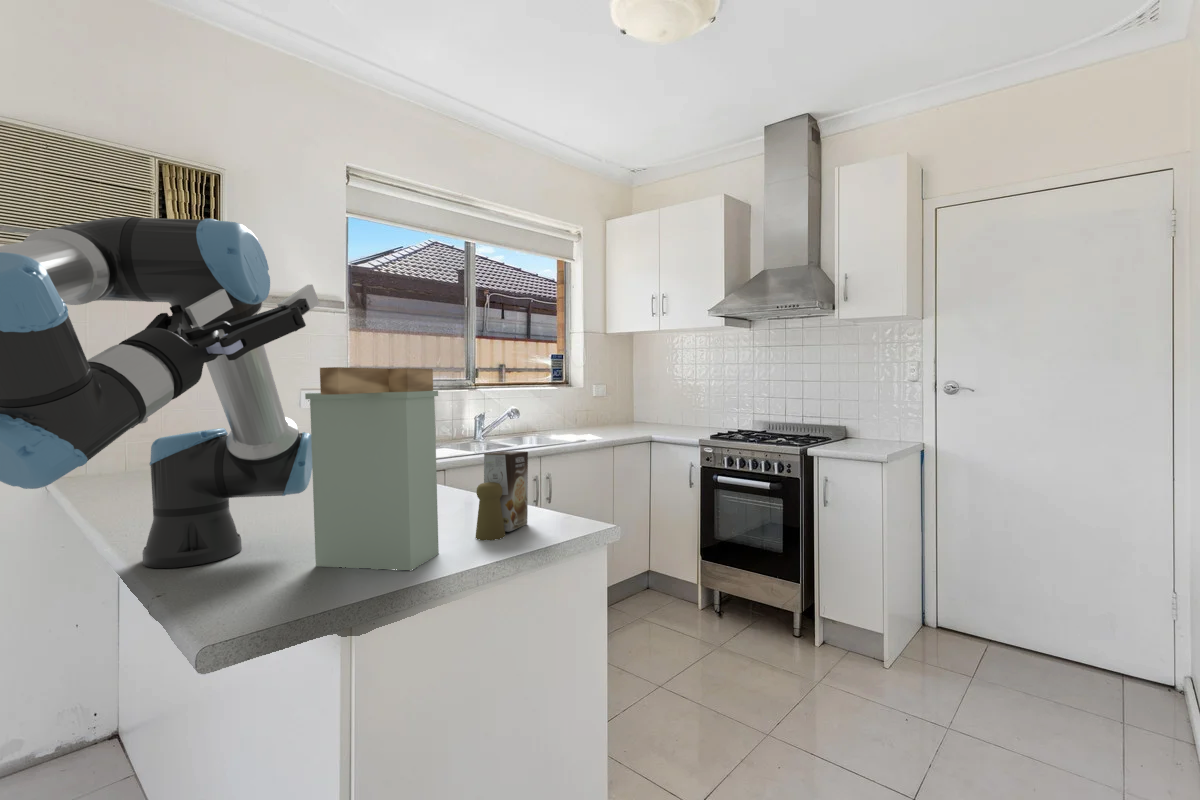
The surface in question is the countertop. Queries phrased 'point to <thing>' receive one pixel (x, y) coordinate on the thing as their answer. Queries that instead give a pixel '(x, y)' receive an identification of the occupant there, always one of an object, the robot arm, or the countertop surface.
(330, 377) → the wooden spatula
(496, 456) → the coffee box
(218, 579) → the countertop surface
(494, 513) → the cork
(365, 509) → the sage green shelf box
